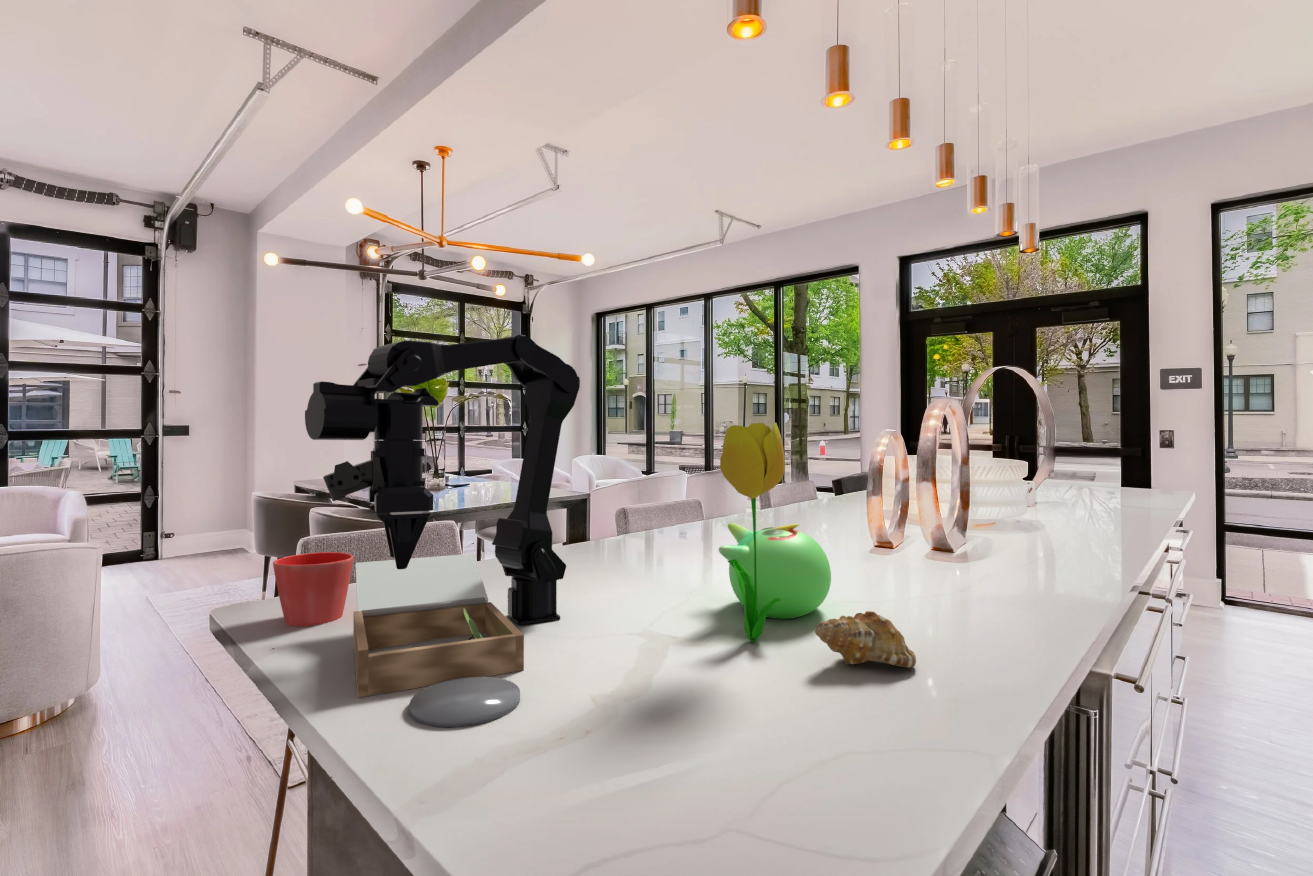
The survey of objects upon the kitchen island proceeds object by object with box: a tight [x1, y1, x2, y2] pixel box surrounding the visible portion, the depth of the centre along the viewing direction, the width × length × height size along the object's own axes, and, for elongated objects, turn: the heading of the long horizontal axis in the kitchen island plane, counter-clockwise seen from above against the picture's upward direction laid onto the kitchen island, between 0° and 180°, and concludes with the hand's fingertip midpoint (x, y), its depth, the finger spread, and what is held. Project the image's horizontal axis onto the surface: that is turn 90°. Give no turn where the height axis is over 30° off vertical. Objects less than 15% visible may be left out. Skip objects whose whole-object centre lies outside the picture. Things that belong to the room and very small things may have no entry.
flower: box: [719, 422, 786, 644], centre depth 85 cm, size 9×8×30 cm
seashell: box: [814, 610, 917, 668], centre depth 77 cm, size 9×8×10 cm
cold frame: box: [352, 601, 525, 698], centre depth 80 cm, size 18×18×5 cm
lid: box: [355, 553, 489, 618], centre depth 92 cm, size 17×11×10 cm, turn 117°
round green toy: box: [718, 522, 832, 620], centre depth 100 cm, size 18×17×15 cm
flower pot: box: [272, 551, 354, 627], centre depth 98 cm, size 11×11×10 cm
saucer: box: [409, 676, 521, 728], centre depth 66 cm, size 11×11×1 cm
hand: (398, 562), depth 81 cm, fingers open, 9 cm apart
